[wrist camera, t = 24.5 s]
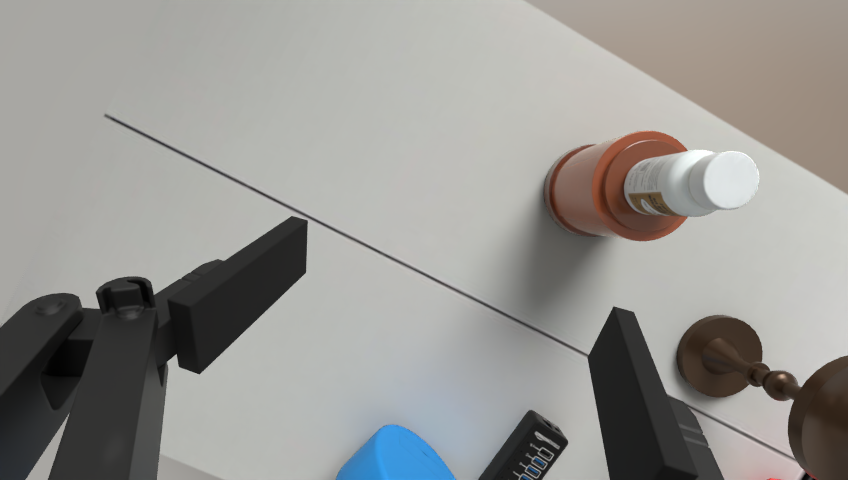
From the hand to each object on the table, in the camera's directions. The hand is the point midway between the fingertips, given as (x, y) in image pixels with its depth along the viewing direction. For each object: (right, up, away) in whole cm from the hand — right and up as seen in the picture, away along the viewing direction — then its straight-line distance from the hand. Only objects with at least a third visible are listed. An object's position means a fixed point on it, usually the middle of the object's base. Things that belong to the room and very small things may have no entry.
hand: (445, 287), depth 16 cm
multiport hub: (+9, -22, +27) cm, 36 cm away
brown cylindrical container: (+16, +7, +24) cm, 30 cm away
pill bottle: (+17, +6, +14) cm, 23 cm away
